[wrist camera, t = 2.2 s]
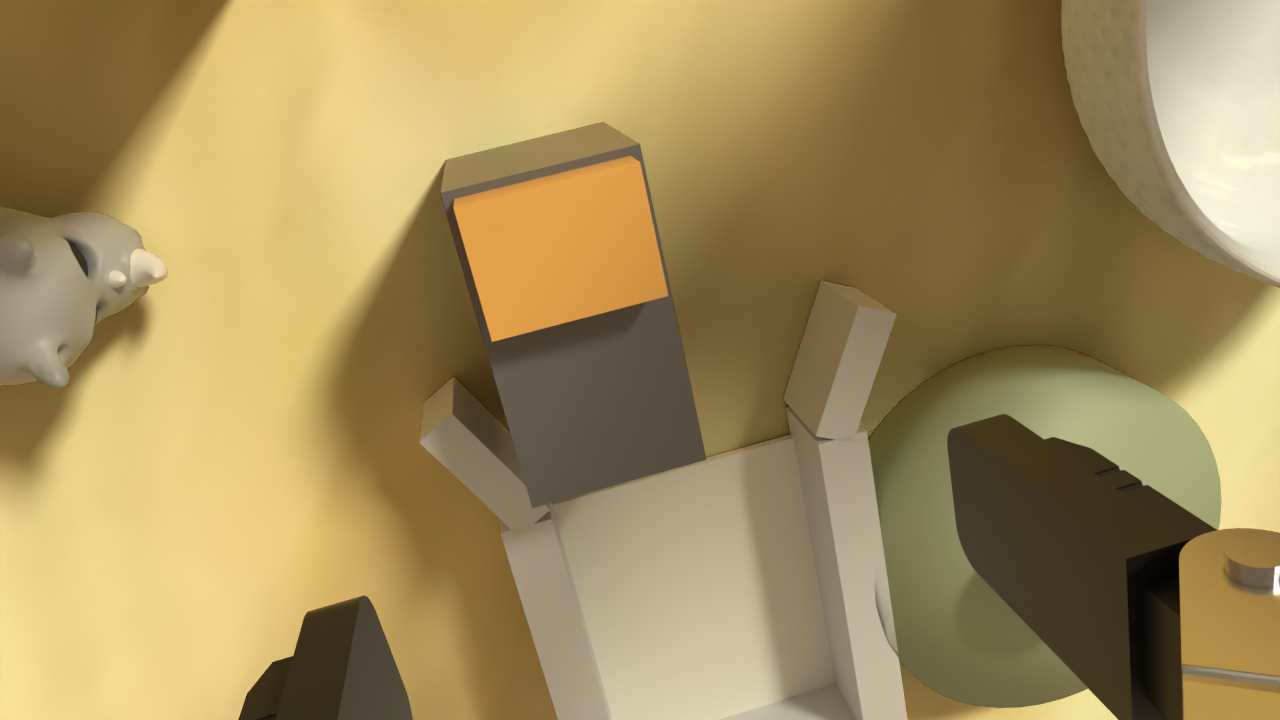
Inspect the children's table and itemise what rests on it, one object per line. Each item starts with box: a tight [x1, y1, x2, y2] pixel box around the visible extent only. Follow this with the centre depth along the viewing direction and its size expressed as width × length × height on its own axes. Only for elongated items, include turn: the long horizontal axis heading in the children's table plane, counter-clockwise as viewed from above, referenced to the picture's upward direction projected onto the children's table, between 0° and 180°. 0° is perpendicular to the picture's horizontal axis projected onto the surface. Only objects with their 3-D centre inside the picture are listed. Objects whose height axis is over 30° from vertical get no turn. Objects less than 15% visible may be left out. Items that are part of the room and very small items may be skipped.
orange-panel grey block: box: [440, 122, 706, 508], centre depth 24 cm, size 8×4×7 cm, turn 13°
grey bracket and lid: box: [419, 280, 1221, 720], centre depth 29 cm, size 16×24×5 cm
